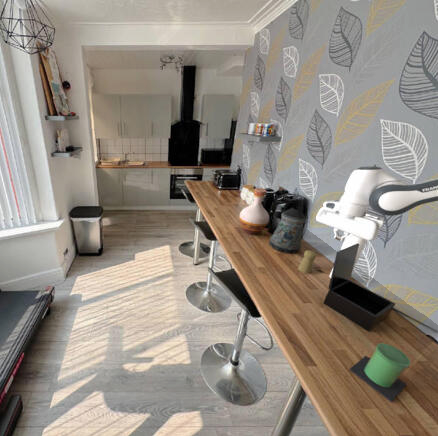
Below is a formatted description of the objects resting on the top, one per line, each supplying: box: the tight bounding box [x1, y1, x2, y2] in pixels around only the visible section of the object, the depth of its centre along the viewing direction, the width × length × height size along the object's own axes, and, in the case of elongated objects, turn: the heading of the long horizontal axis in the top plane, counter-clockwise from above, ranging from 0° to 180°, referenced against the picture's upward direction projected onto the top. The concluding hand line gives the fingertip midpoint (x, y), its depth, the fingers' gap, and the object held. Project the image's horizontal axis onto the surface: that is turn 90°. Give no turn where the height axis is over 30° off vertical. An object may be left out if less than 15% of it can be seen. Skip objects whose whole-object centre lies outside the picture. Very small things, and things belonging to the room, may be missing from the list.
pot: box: [364, 342, 411, 388], centre depth 69 cm, size 7×7×10 cm
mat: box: [349, 355, 407, 403], centre depth 71 cm, size 10×10×1 cm
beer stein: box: [269, 206, 307, 255], centre depth 138 cm, size 16×19×25 cm
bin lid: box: [328, 244, 359, 290], centre depth 96 cm, size 16×16×1 cm
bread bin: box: [323, 279, 396, 332], centre depth 94 cm, size 16×16×8 cm
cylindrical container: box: [329, 234, 368, 279], centre depth 109 cm, size 7×7×25 cm
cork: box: [297, 249, 318, 274], centre depth 118 cm, size 6×6×11 cm
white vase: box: [239, 187, 270, 236], centre depth 154 cm, size 20×18×30 cm
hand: (338, 239), depth 96 cm, fingers closed
